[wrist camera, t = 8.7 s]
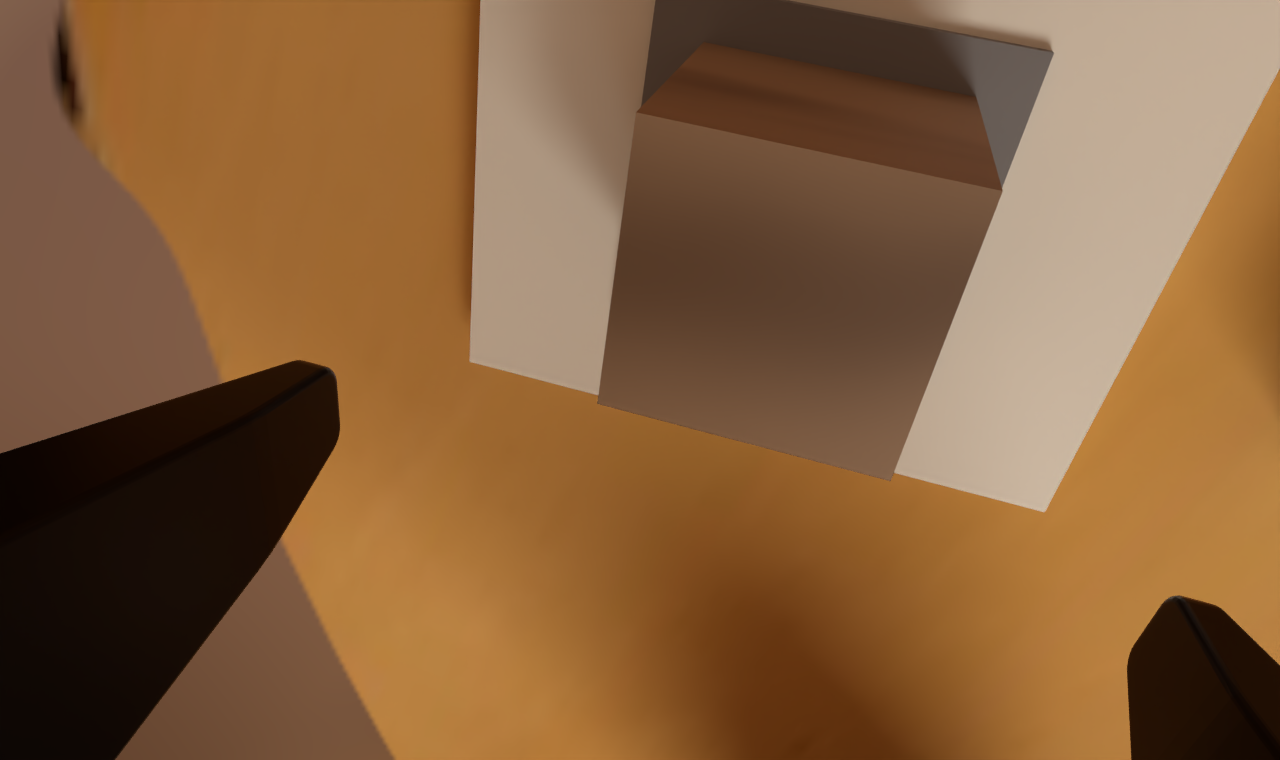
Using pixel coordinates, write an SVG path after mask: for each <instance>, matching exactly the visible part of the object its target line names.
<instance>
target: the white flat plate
mask: <svg viewBox="0 0 1280 760" xmlns="http://www.w3.org/2000/svg"><path fill="white" fill-rule="evenodd" d="M703 42H706V43H711V44H716V45H721V46H726V47H731V48H736V49H741V50H746V51H751V52H756V53H761V54H766V55H771V56H776V57H781V58H786V59H790V60H795V61H800V62H805V63H810V64H815V65H820V66H825V67H830V68H835V69H840V70H845V71H850V72H855V73H860V74H865V75H870V76H875V77H880V78H885V79H890V80H895V81H900V82H905V83H910V84H915V85H920V86H924V87H929V88H934V89H939V90H944V91H949V92H954V93H959V94H964V95H969V96H974V97H977V101H978V105H979V108H980V112H981V115H982V119H983V122H984V126H985V130H986V133H987V137H988V140H989V144H990V147H991V151H992V154H993V158H994V162H995V165H996V169H997V172H998V176H999V179H1000V183H1001V186H1002V190H1003V192H1002V195H1001V197H1000V200H999V202H998V205H997V208H996V210H995V213H994V215H993V218H992V220H991V223H990V226H989V228H988V231H987V233H986V236H985V238H984V241H983V244H982V246H981V249H980V251H979V254H978V257H977V259H976V262H975V264H974V267H973V269H972V272H971V275H970V277H969V280H968V282H967V285H966V288H965V290H964V293H963V295H962V298H961V300H960V303H959V306H958V308H957V311H956V313H955V316H954V318H953V321H952V324H951V326H950V329H949V331H948V334H947V337H946V339H945V342H944V344H943V347H942V349H941V352H940V355H939V357H938V360H937V362H936V365H935V368H934V370H933V373H932V375H931V378H930V380H929V383H928V386H927V388H926V391H925V393H924V396H923V398H922V401H921V404H920V406H919V409H918V411H917V414H916V417H915V419H914V422H913V424H912V427H911V429H910V432H909V435H908V437H907V440H906V442H905V445H904V448H903V450H902V453H901V455H900V458H899V460H898V463H897V466H896V468H895V471H894V473H897V474H900V475H904V476H908V477H912V478H916V479H920V480H923V481H927V482H931V483H935V484H939V485H942V486H946V487H950V488H954V489H958V490H962V491H965V492H969V493H973V494H977V495H981V496H984V497H988V498H992V499H996V500H1000V501H1004V502H1007V503H1011V504H1015V505H1019V506H1023V507H1026V508H1030V509H1034V510H1038V511H1042V512H1045V511H1046V509H1047V507H1048V505H1049V503H1050V501H1051V499H1052V497H1053V496H1054V494H1055V492H1056V490H1057V488H1058V486H1059V484H1060V482H1061V480H1062V479H1063V477H1064V475H1065V473H1066V471H1067V469H1068V467H1069V465H1070V463H1071V462H1072V460H1073V458H1074V456H1075V454H1076V452H1077V450H1078V448H1079V446H1080V445H1081V443H1082V441H1083V439H1084V437H1085V435H1086V433H1087V431H1088V429H1089V428H1090V426H1091V424H1092V422H1093V420H1094V418H1095V416H1096V414H1097V412H1098V411H1099V409H1100V407H1101V405H1102V403H1103V401H1104V399H1105V397H1106V395H1107V394H1108V392H1109V390H1110V388H1111V386H1112V384H1113V382H1114V380H1115V378H1116V377H1117V375H1118V373H1119V371H1120V369H1121V367H1122V365H1123V363H1124V362H1125V360H1126V358H1127V356H1128V354H1129V352H1130V350H1131V348H1132V346H1133V345H1134V343H1135V341H1136V339H1137V337H1138V335H1139V333H1140V331H1141V329H1142V328H1143V326H1144V324H1145V322H1146V320H1147V318H1148V316H1149V314H1150V312H1151V311H1152V309H1153V307H1154V305H1155V303H1156V301H1157V299H1158V297H1159V295H1160V294H1161V292H1162V290H1163V288H1164V286H1165V284H1166V282H1167V280H1168V278H1169V277H1170V275H1171V273H1172V271H1173V269H1174V267H1175V265H1176V263H1177V261H1178V260H1179V258H1180V256H1181V254H1182V252H1183V250H1184V248H1185V246H1186V244H1187V243H1188V241H1189V239H1190V237H1191V235H1192V233H1193V231H1194V229H1195V227H1196V226H1197V224H1198V222H1199V220H1200V218H1201V216H1202V214H1203V212H1204V210H1205V209H1206V207H1207V205H1208V203H1209V201H1210V199H1211V197H1212V195H1213V193H1214V192H1215V190H1216V188H1217V186H1218V184H1219V182H1220V180H1221V178H1222V176H1223V175H1224V173H1225V171H1226V169H1227V167H1228V165H1229V163H1230V161H1231V159H1232V158H1233V156H1234V154H1235V152H1236V150H1237V148H1238V146H1239V144H1240V142H1241V141H1242V139H1243V137H1244V135H1245V133H1246V131H1247V129H1248V127H1249V125H1250V124H1251V122H1252V120H1253V118H1254V116H1255V114H1256V112H1257V110H1258V109H1259V107H1260V105H1261V103H1262V101H1263V99H1264V97H1265V95H1266V93H1267V92H1268V90H1269V88H1270V86H1271V84H1272V82H1273V80H1274V78H1275V76H1276V75H1277V73H1278V71H1279V69H1280V0H480V33H479V66H478V99H477V132H476V165H475V198H474V231H473V264H472V297H471V330H470V362H473V363H476V364H480V365H484V366H488V367H492V368H496V369H499V370H503V371H507V372H511V373H515V374H518V375H522V376H526V377H530V378H534V379H538V380H541V381H545V382H549V383H553V384H557V385H560V386H564V387H568V388H572V389H576V390H580V391H583V392H587V393H591V394H595V395H598V394H599V387H600V379H601V372H602V364H603V357H604V349H605V342H606V334H607V327H608V319H609V312H610V304H611V296H612V289H613V281H614V274H615V266H616V259H617V251H618V244H619V236H620V229H621V221H622V214H623V206H624V198H625V191H626V183H627V176H628V168H629V161H630V153H631V146H632V138H633V131H634V123H635V116H636V112H637V111H638V110H639V109H640V108H641V107H642V105H643V104H644V103H645V102H646V101H647V100H648V99H649V98H650V97H651V96H652V95H653V94H654V93H655V92H656V91H657V90H658V89H659V88H660V87H661V86H662V85H663V84H664V83H665V82H666V81H667V80H668V79H669V78H670V77H671V75H672V74H673V73H674V72H675V71H676V70H677V69H678V68H679V67H680V66H681V65H682V64H683V63H684V62H685V61H686V60H687V59H688V58H689V57H690V56H691V55H692V54H693V53H694V52H695V51H696V50H697V49H698V48H699V47H700V45H701V44H702V43H703Z"/></svg>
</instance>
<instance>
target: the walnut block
mask: <svg viewBox="0 0 1280 760" xmlns="http://www.w3.org/2000/svg"><path fill="white" fill-rule="evenodd" d="M1002 192H1003V190H1002V186H1001V183H1000V179H999V176H998V172H997V169H996V165H995V162H994V158H993V154H992V151H991V147H990V144H989V140H988V137H987V133H986V130H985V126H984V122H983V119H982V115H981V112H980V108H979V105H978V101H977V97H974V96H969V95H964V94H959V93H954V92H949V91H944V90H939V89H934V88H929V87H924V86H920V85H915V84H910V83H905V82H900V81H895V80H890V79H885V78H880V77H875V76H870V75H865V74H860V73H855V72H850V71H845V70H840V69H835V68H830V67H825V66H820V65H815V64H810V63H805V62H800V61H795V60H790V59H786V58H781V57H776V56H771V55H766V54H761V53H756V52H751V51H746V50H741V49H736V48H731V47H726V46H721V45H716V44H711V43H706V42H703V43H702V44H701V45H700V47H699V48H698V49H697V50H696V51H695V52H694V53H693V54H692V55H691V56H690V57H689V58H688V59H687V60H686V61H685V62H684V63H683V64H682V65H681V66H680V67H679V68H678V69H677V70H676V71H675V72H674V73H673V74H672V75H671V77H670V78H669V79H668V80H667V81H666V82H665V83H664V84H663V85H662V86H661V87H660V88H659V89H658V90H657V91H656V92H655V93H654V94H653V95H652V96H651V97H650V98H649V99H648V100H647V101H646V102H645V103H644V104H643V105H642V107H641V108H640V109H639V110H638V111H637V112H636V116H635V123H634V131H633V138H632V146H631V153H630V161H629V168H628V176H627V183H626V191H625V198H624V206H623V214H622V221H621V229H620V236H619V244H618V251H617V259H616V266H615V274H614V281H613V289H612V296H611V304H610V312H609V319H608V327H607V334H606V342H605V349H604V357H603V364H602V372H601V379H600V387H599V394H598V402H597V404H600V405H604V406H608V407H612V408H616V409H619V410H623V411H627V412H631V413H634V414H638V415H642V416H646V417H650V418H653V419H657V420H661V421H665V422H669V423H672V424H676V425H680V426H684V427H688V428H691V429H695V430H699V431H703V432H706V433H710V434H714V435H718V436H722V437H725V438H729V439H733V440H737V441H741V442H744V443H748V444H752V445H756V446H760V447H763V448H767V449H771V450H775V451H779V452H782V453H786V454H790V455H794V456H797V457H801V458H805V459H809V460H813V461H816V462H820V463H824V464H828V465H832V466H835V467H839V468H843V469H847V470H851V471H854V472H858V473H862V474H866V475H869V476H873V477H877V478H881V479H885V480H888V481H891V478H892V476H893V473H894V471H895V468H896V466H897V463H898V460H899V458H900V455H901V453H902V450H903V448H904V445H905V442H906V440H907V437H908V435H909V432H910V429H911V427H912V424H913V422H914V419H915V417H916V414H917V411H918V409H919V406H920V404H921V401H922V398H923V396H924V393H925V391H926V388H927V386H928V383H929V380H930V378H931V375H932V373H933V370H934V368H935V365H936V362H937V360H938V357H939V355H940V352H941V349H942V347H943V344H944V342H945V339H946V337H947V334H948V331H949V329H950V326H951V324H952V321H953V318H954V316H955V313H956V311H957V308H958V306H959V303H960V300H961V298H962V295H963V293H964V290H965V288H966V285H967V282H968V280H969V277H970V275H971V272H972V269H973V267H974V264H975V262H976V259H977V257H978V254H979V251H980V249H981V246H982V244H983V241H984V238H985V236H986V233H987V231H988V228H989V226H990V223H991V220H992V218H993V215H994V213H995V210H996V208H997V205H998V202H999V200H1000V197H1001V195H1002Z"/></svg>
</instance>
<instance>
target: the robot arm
mask: <svg viewBox="0 0 1280 760" xmlns="http://www.w3.org/2000/svg"><path fill="white" fill-rule="evenodd" d="M339 432H340V418H339V404H338V391H337V380H336V376H335V374H334V372H333V371H332V370H331V369H330V368H328V367H325V366H321V365H318V364H314V363H310V362H306V361H301V360H296V361H292V362H289V363H285V364H282V365H279V366H276V367H273V368H270V369H266V370H263V371H260V372H257V373H254V374H251V375H247V376H244V377H241V378H238V379H235V380H232V381H228V382H225V383H222V384H219V385H216V386H213V387H210V388H206V389H203V390H200V391H197V392H194V393H190V394H187V395H184V396H181V397H178V398H175V399H171V400H169V401H165V402H162V403H159V404H156V405H153V406H149V407H146V408H143V409H140V410H136V411H133V412H130V413H127V414H124V415H121V416H118V417H114V418H111V419H108V420H105V421H102V422H98V423H95V424H92V425H89V426H86V427H83V428H80V429H77V430H73V431H70V432H67V433H64V434H60V435H57V436H54V437H51V438H48V439H45V440H41V441H38V442H35V443H32V444H29V445H26V446H22V447H19V448H16V449H13V450H10V451H7V452H3V453H0V760H115V759H116V758H117V757H118V755H119V754H120V753H121V751H122V750H123V749H124V747H125V746H126V745H127V744H128V742H129V741H130V740H131V738H132V737H133V736H134V734H135V733H136V732H137V730H138V729H139V728H140V726H141V725H142V724H143V722H144V721H145V720H146V718H147V717H148V716H149V714H150V713H151V712H152V710H153V709H154V708H155V706H156V705H157V704H158V703H159V701H160V700H161V699H162V697H163V696H164V695H165V693H166V692H167V691H168V689H169V688H170V687H171V685H172V684H173V683H174V681H175V680H176V679H177V677H178V676H179V675H180V674H181V672H182V671H183V670H184V668H185V667H186V666H187V664H188V663H189V662H190V660H191V659H192V658H193V656H194V655H195V654H196V652H197V651H198V650H199V648H200V647H201V646H202V644H203V643H204V641H205V640H206V639H207V638H208V636H209V635H210V634H211V633H212V631H213V630H214V629H215V627H216V626H217V625H218V623H219V622H220V621H221V619H222V618H223V617H224V615H225V614H226V613H227V611H228V610H229V609H230V607H231V606H232V605H233V603H234V602H235V601H236V600H237V598H238V597H239V596H240V594H241V593H242V592H243V590H244V589H245V587H246V586H247V585H248V584H249V582H250V581H251V580H252V578H253V577H254V576H255V574H256V573H257V572H258V570H259V569H260V568H261V566H262V565H263V564H264V562H265V561H266V559H267V558H268V556H269V555H270V554H271V552H272V551H273V549H274V548H275V546H276V544H277V543H278V541H279V540H280V538H281V537H282V535H283V533H284V532H285V530H286V528H287V527H288V525H289V523H290V522H291V520H292V518H293V517H294V515H295V513H296V512H297V510H298V508H299V507H300V505H301V503H302V501H303V500H304V498H305V496H306V495H307V493H308V491H309V490H310V488H311V486H312V485H313V483H314V481H315V480H316V478H317V476H318V475H319V473H320V471H321V470H322V468H323V466H324V464H325V463H326V461H327V459H328V458H329V456H330V454H331V453H332V451H333V449H334V447H335V445H336V443H337V440H338V437H339ZM1127 680H1128V700H1129V720H1130V740H1131V760H1280V665H1279V664H1278V663H1277V662H1276V661H1275V660H1274V659H1273V658H1272V657H1271V656H1269V655H1268V654H1267V653H1266V652H1265V651H1264V650H1263V649H1262V648H1261V647H1260V646H1259V645H1258V644H1257V643H1256V642H1255V641H1254V640H1253V639H1252V638H1251V637H1250V636H1249V635H1248V634H1247V633H1246V632H1245V631H1244V630H1243V629H1242V628H1241V627H1240V626H1239V625H1238V624H1237V623H1236V622H1235V621H1234V620H1233V619H1232V618H1231V617H1230V616H1229V615H1228V614H1227V613H1225V612H1224V611H1223V610H1222V609H1221V608H1219V607H1218V606H1216V605H1213V604H1210V603H1206V602H1202V601H1199V600H1195V599H1191V598H1187V597H1184V596H1172V597H1170V598H1168V599H1167V600H1165V601H1164V603H1163V604H1162V605H1161V606H1160V608H1159V609H1158V611H1157V612H1156V614H1155V615H1154V616H1153V618H1152V619H1151V621H1150V622H1149V624H1148V625H1147V627H1146V628H1145V630H1144V631H1143V633H1142V634H1141V635H1140V637H1139V638H1138V640H1137V641H1136V643H1135V644H1134V646H1133V648H1132V650H1131V652H1130V655H1129V659H1128V665H1127Z"/></svg>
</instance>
